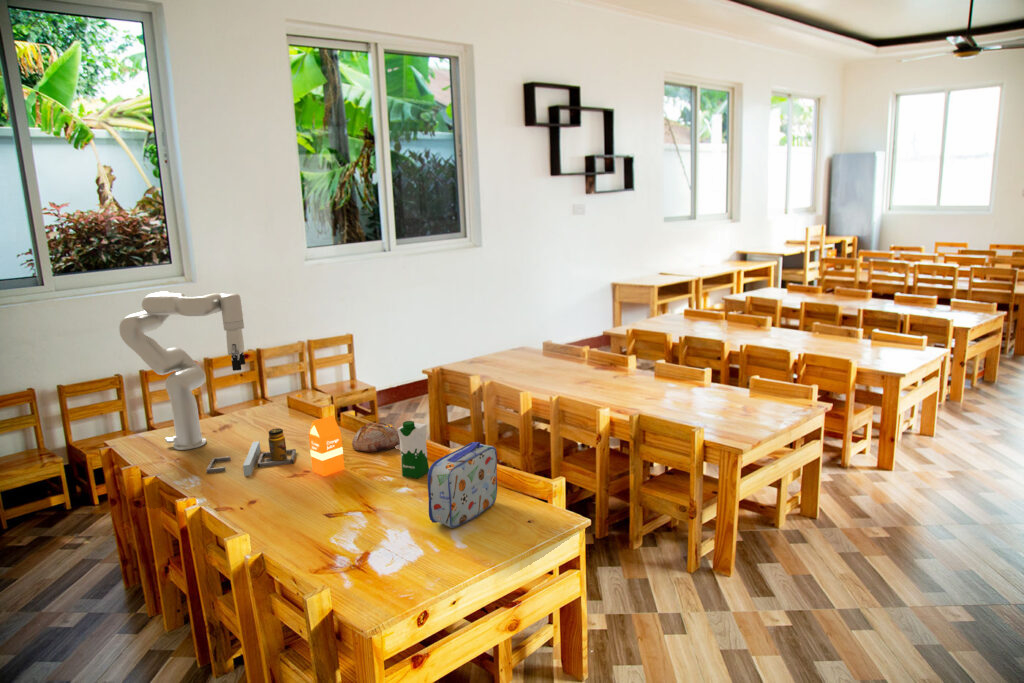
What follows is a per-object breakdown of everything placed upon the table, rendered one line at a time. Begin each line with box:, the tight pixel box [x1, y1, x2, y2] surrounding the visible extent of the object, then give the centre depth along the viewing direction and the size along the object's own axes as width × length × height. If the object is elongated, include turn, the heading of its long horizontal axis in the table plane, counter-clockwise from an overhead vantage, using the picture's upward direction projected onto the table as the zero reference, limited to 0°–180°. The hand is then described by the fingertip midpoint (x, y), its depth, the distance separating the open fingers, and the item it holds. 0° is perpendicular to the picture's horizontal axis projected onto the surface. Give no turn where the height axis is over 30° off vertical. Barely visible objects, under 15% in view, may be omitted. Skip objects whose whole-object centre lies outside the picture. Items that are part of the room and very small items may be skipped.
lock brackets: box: [205, 448, 297, 474], centre depth 273 cm, size 31×12×2 cm, turn 102°
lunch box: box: [427, 441, 498, 529], centre depth 219 cm, size 28×10×22 cm, turn 148°
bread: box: [351, 422, 400, 453], centre depth 285 cm, size 16×20×10 cm
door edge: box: [242, 440, 262, 477], centre depth 273 cm, size 2×26×4 cm, turn 12°
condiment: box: [263, 428, 290, 462], centre depth 274 cm, size 7×8×12 cm
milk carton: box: [396, 420, 430, 480], centre depth 253 cm, size 9×9×20 cm
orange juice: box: [308, 415, 345, 477], centre depth 260 cm, size 8×9×20 cm
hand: (239, 367), depth 285 cm, fingers open, 9 cm apart
